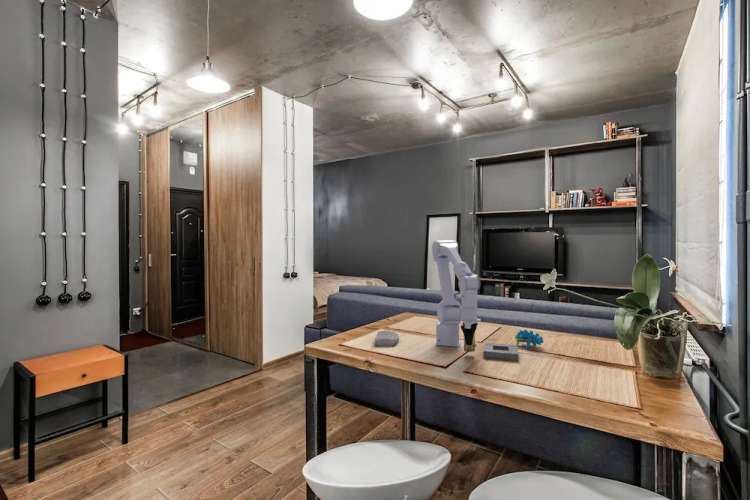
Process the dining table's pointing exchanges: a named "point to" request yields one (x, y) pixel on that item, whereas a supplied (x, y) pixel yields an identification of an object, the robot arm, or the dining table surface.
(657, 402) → the dining table surface
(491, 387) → the dining table surface
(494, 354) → the block
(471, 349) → the brass sleeve
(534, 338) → the blue toy dinosaur
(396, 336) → the stone block
